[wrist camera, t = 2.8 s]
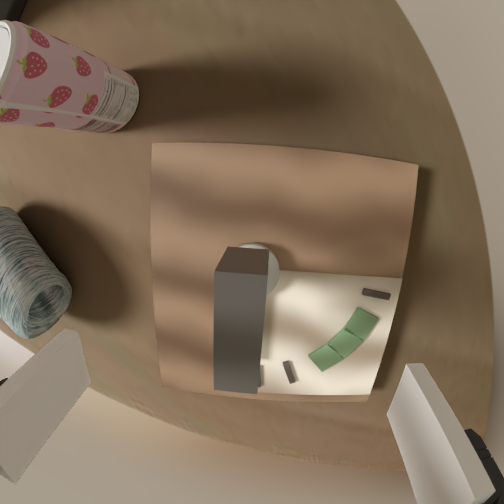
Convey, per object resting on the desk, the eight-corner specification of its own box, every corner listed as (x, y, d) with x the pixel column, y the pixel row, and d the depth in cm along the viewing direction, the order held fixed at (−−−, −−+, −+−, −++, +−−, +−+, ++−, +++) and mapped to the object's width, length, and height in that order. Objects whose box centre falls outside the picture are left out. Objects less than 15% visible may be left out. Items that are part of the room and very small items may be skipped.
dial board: (161, 144, 23) (150, 142, 21) (408, 164, 22) (420, 165, 20) (167, 374, 29) (161, 389, 27) (362, 388, 28) (367, 403, 26)
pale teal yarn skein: (92, 297, 24) (-6, 345, 16) (76, 324, 30) (4, 362, 22) (39, 174, 25) (-49, 200, 17) (30, 223, 31) (-38, 249, 23)
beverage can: (112, 61, 21) (-7, 4, 7) (153, 93, 22) (32, 35, 8) (75, 111, 23) (-56, 95, 8) (112, 146, 23) (-27, 145, 9)
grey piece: (227, 224, 22) (193, 269, 13) (282, 228, 22) (289, 277, 13) (223, 355, 26) (200, 443, 16) (270, 359, 25) (266, 450, 16)
